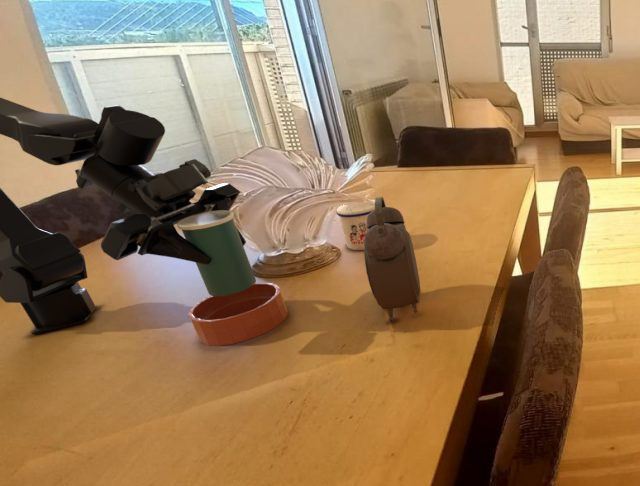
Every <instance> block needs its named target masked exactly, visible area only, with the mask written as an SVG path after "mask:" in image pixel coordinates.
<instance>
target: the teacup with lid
mask: <svg viewBox="0 0 640 486" xmlns="http://www.w3.org/2000/svg"><path fill="white" fill-rule="evenodd" d="M367 199H368V202H367V203H363V204H358V205H344V204H342V205H343V206H342V205H339V207H337V209H336V215H337V216H338V218H339V222H340V226H341V229H342V233H343V236H344V241H345V243H346V247H347V248H348V249H350V250H353V251H364V249H365V247H364V237H365V234H366V233H367V230H368V229H367V216H368V214H369V213H370V212H371V211H373V210H374V209H375V199H369V198H367Z"/></svg>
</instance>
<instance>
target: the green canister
mask: <svg viewBox="0 0 640 486" xmlns="http://www.w3.org/2000/svg"><path fill="white" fill-rule="evenodd" d="M234 218H235V215H234V212H233V211H231V210H229V211H226V210H220V211H211V212H205V213H200V214H196V215H193V216H190V217H187V218H184V219H182V220H180V221H179V222H178V223H177V224H176V225H177V228H178V229H179V230H181V232H182V234H183V236H184V237H183V238H185V239H186V240H188V241H189V242H190V243H192V244H193V245H194V246H196V247H197V248H199V249H200V250H201V251H203V252H204V253H205V254H206V255H207V256H208V257H210V258H211V262H210V263H209V264H207V265H206V264H201V263H197V262H195V264H196V267H197V270H198V271H199V274H200V276H201V279H202V281H203V284H204V286H205V288H206V291H207V292H208V295H209V296H225V295H230V294H234V293H238V292H240V291H243V290H245V289H247V288H249V287H251V286H252V285H254V284H255V283H257V279H256V276H255V274H254V271H253V268H252V265H251V262H250V260H249V258H248V255H247V252H246V250H245V247H244V246H243V244H242V241H241V239H240V236H239V233H238V231H237V228H238V227H237V225H236V223H235V221H234ZM236 227H237V228H236Z"/></svg>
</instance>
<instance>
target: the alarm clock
mask: <svg viewBox="0 0 640 486" xmlns="http://www.w3.org/2000/svg"><path fill="white" fill-rule="evenodd" d="M374 200H375V209H374V210H373V211H371V212H370V213H369V214H368V216H367V229H368V230H367V233H366V234H365V237H364V247H365V249H364V250H363V252H364V253H363V255H364V264H365V270H366V275H367V281H368V284H369V288H370V291H371V293H372V295H373V298H374V299H375V301H376V303H377V305H378V306H379V307H381V309H382V310H383V311H384V310H385V311H387V315H388V316H389V322H392V323H393V322H394V321H395V319H394V309H402V308H406V307H409V306H411V307H412V309H413V313H415V314H416V313H418V312H419V310H418V309H417V304H418V303H420V294H421V282H420V275H419V270H418V264H417V259H416V253H415V249H414V245H413V242H412V237H411V234H410V232H409V231H408V230H407V228H406V225H405V219H404V216H403V214H402V213H401V211H400V210H399V209H397V208H395V207H392V206H386V203H385V198H384V197H383V196H378V197H375V199H374Z"/></svg>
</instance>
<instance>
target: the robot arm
mask: <svg viewBox="0 0 640 486" xmlns="http://www.w3.org/2000/svg"><path fill="white" fill-rule="evenodd" d="M165 133H166V128H165V126H164V124H163V123H162V122H161V121H160V120H159V119H158V118H156V117H154V116H150V115H148V114H145V113H142V112H139V111H136V110H131V109H130V110H129V109H126V108H125V107H123V106H121V105H120V104H117V105H109V106H104V107H103V108H102V110H101V114H100V120H99V122H97V121H95V120H92V119H91V118H88V117H83V116H78V115H74V114H73V115H72V114H67V113H56V112H55V113H53V112H44V111H40V110H37V109H33V108H30V107H27V106H25V105H22V104H20V103H18V102H17V103H16V102H14V101H12V100H9V99H6V98H3V97H1V96H0V135H1V136H4V137H7V138H9V139H12V140H14V141H16V142H18V145H19V146H20V148H21V150H22V152H24V153H26V154H28V155H30V156H32V157H34V158H36V159H37V160H39V161H42V162H44V163H46V164H48V165H51V166H62V165H67V164H71V163H75V162H80V161H83V163H82V165H81V168H78V169H75V170H74V172H75V174H76V179H75V183H76V185H77V188H79V189H86V188H89V187H92V186H95V187H96V188H98V189H99V190H100V191H102V192H103V193H105V194H106V195H108V196H109V197H110V198H112V199H113V200H114V201H116V202H117V203H118V205H117V207H116V209H117V210H118V211H120V212H121V213H122V214H125V213H127V212H130V211H131V212H132V213H133V214H132V215H129V216H127V217H124V218H120V219H118V220H115V221H112V222H110V224H109V226H108V228H107V230H106V232H105V234H104V236H103V238H102V241H101V242H100V248H101V250H102V252H103V253H104V254H105V255H107V256H109V258H111V259H113V260H115V261H119V260H123V259H124V258H127V257H129V256H132V255H134V254H136V253H137V254H138V255H139V256H145V255H153V256H160V257H165V258H166V257H167V258H173V259H177V260H182V261H187V262H188V261H189V262H193V263H196V262H197V263H201V264H206V265H207V264H209V263H210V262H211V258H210V257H208V256H207V255H206V254H205V253H204V252H203V251H201V250H200V249H199V248H197V247H196V246H194V245H193V244H192V243H190V242H189V241H188V240H186V239H185V237H183V236H182V235H181V234H180V233H179V232H178V231H177V229H176V227H175V225H177V223H178V222H179V221H180V220H182V219H184V218H187V217H190V216H193V215H196V214H200V213H205V212H211V211H220V210H226V211H231V208H232V206H233V205H234V203H235V202H236V200H237V199H238V197H239V196H240V194H241V190H239V189H237V188H236V187H235V186H234V185H233V184H231V183H220V184H217V185H214V186H211V187H209V188H206V189H204V190H203V192H202V193H201V195H200V197H199V199H198V200H197V201H195V202H191V200H192V199H194V198H195V196H196V194H197V192H195V190H196V189H197V188H199V187H200V186H202V185H207V184H208V183H209V181H208V178H209V177H211V176H212V171H211V170H210V169H209V168H208V167H207V165H206V164H205V163H203V162H200V161H199V160H197V159H196V158H193V159H190V160H187V161H184V163H182V164H180V165H179V166H178V167H177V168H173V169H171V170H167V171H165V172H163V173H162V172H161V173H158V174H154V173H152V172H150V171H149V170H148V169H147V168H145V167H144V166H143V165H146V164H148V163H150V162H151V161H152V160H153V158H154V155H155V154H156V151H157V149H158V147H159V145H160V144H161V141H162V139H163V137H164V136H165ZM236 228H237V231H238V233H239V236H240V239H241V241H242V244H243V247H244V246H245V245H246V243H247V241H246V239H245V237H244V236H243V234H242V233H241V231H240V230H239V228H238V227H237V226H236ZM139 247H140V248H139ZM138 248H139V249H138ZM81 251H82V250H81V249H80V248H78V247H77V246H75V244H73V242H72V241H71V240H70V239H69V237H68V236H67V235H66V234H64V233H63V232H61V231H57V232H54V233H52V232H48V231H46V230H43V229H40V228H39V227H37V226H36V225H35V224H34V222H32V220H31V219H30V218H29V217H28V216H27V215H26V214H25V213H24V212H23V211H22V209H21V208H20V207H19V206H18V205H17V204H16V203H15V202H14V201H13V200H12V198H11V197H9V195H8V194H7V193H6V192H5V191H4V190H3V188H1V187H0V272H1V274H2V276H1V277H0V298H1V300H2V301H4V302H5V303H6V304H7V303H8V304H9V303H11V304H20V305H21V307H22V308H23V311H25V314H26V315H27V317H28V318H29V320H30V321H31V323H32V324H33V327H34V328H33V329H32V330H31V331H30V333H31V334H32V335H37V334H38V335H39V334H42V333H46V332H51V331H55V330H59V329H63V328H68V327H71V326H75V325H81V324H83V323H86V322H87V321H88V320H89V318H90V317H91V316H92V314H93V313H94V312H95V310H96V309H97V307H98V306H97V304H95V303H94V301H93V299H92V297H91V295H90V293H89V292H88V289H87V288H85V287H83V288H82V287H81V285H80V283H79V282H80V281H83V280H84V281H85V280H86V279H88V272H87V271H88V270H87V265H86V260H85V256H84V254H83V253H82V252H81Z"/></svg>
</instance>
